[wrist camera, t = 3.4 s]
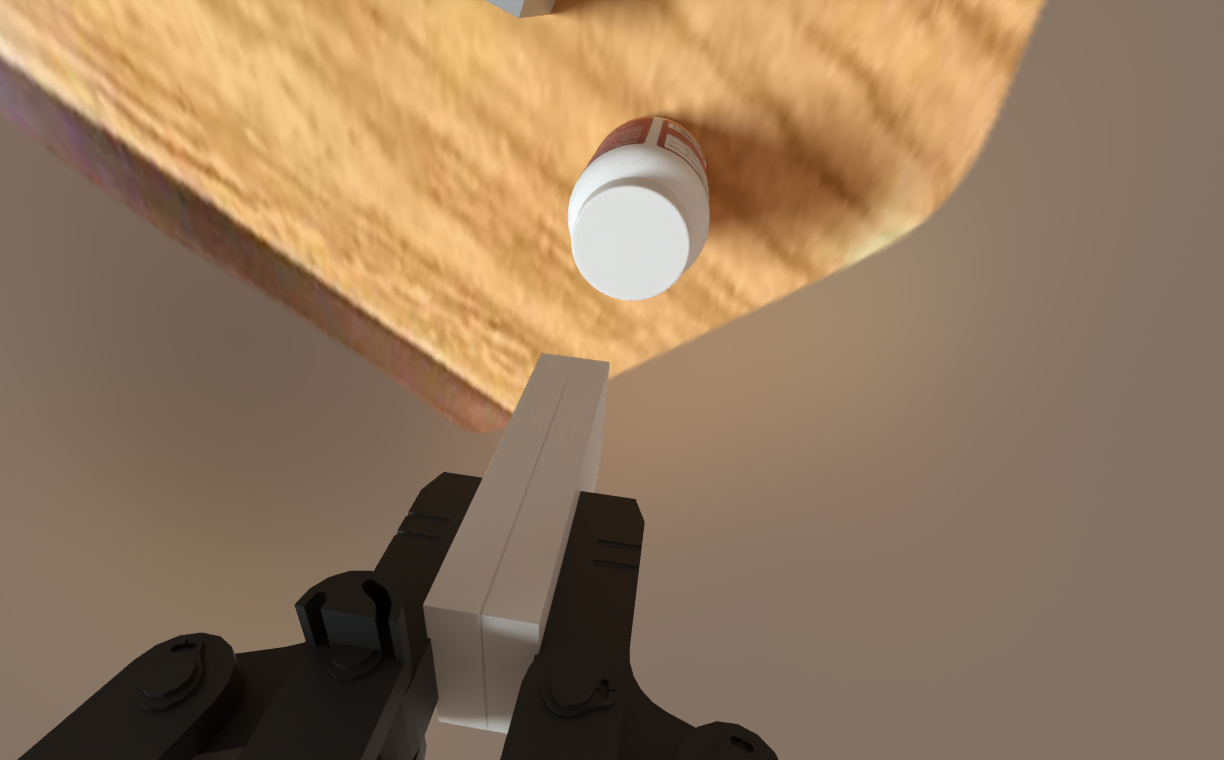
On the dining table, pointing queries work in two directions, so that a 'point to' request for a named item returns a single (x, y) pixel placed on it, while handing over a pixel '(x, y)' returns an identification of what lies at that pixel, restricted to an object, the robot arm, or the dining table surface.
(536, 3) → the grey block
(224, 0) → the dining table surface
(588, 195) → the pill bottle
